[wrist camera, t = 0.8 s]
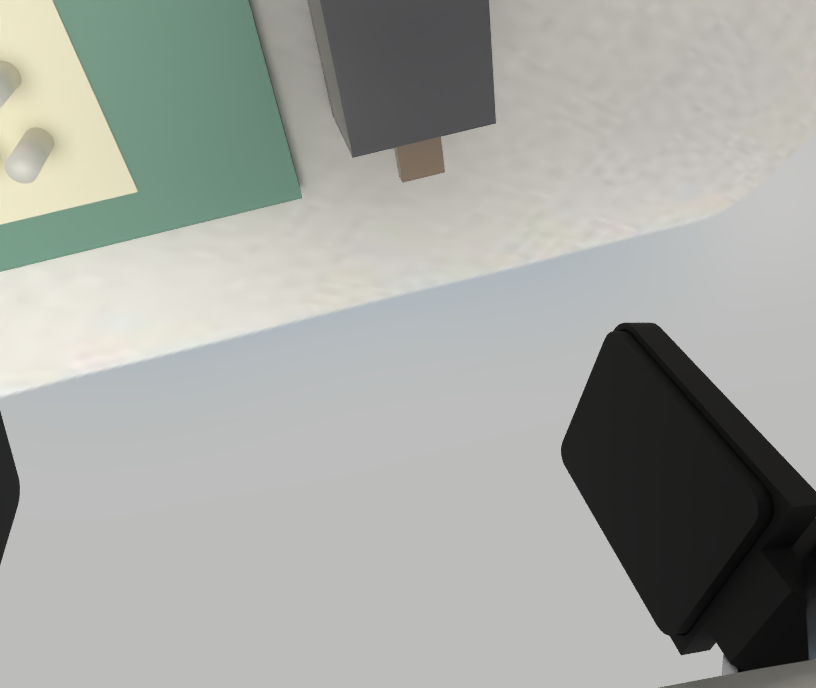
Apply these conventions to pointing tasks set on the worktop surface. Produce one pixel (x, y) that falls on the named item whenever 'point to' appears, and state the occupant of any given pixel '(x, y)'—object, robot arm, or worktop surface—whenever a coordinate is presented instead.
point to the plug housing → (406, 74)
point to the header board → (131, 122)
